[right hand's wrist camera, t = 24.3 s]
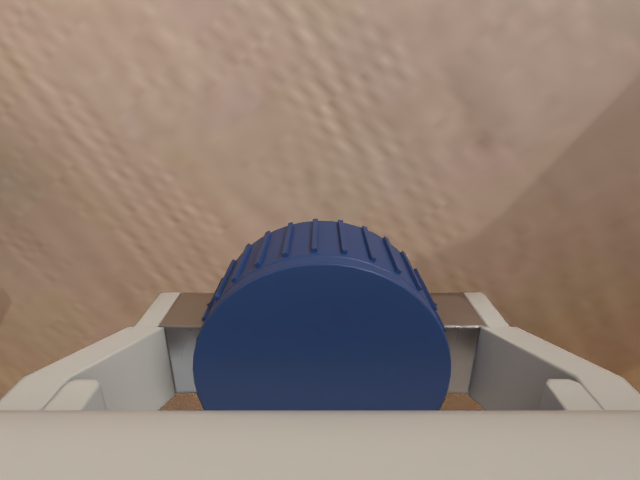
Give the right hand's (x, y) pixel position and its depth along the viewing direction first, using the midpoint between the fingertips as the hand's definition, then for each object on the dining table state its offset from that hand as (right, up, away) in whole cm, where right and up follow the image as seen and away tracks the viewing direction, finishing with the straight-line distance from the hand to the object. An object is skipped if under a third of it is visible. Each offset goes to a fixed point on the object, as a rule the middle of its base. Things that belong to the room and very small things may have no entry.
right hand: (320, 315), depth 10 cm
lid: (0, -1, -2) cm, 2 cm away
